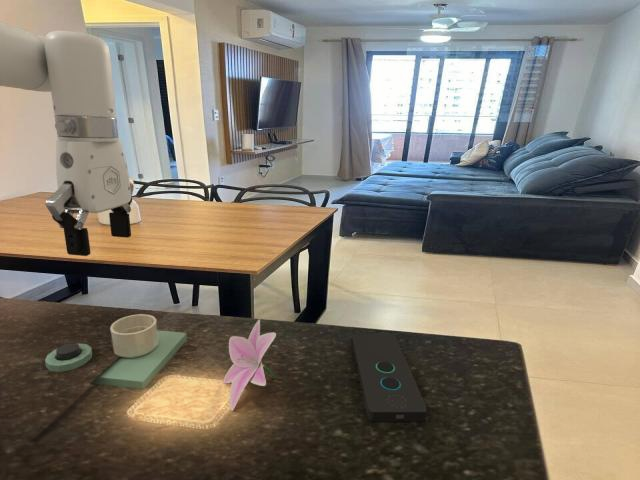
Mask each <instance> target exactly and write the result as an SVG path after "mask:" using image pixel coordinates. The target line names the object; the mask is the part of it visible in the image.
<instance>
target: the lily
mask: <svg viewBox="0 0 640 480" xmlns="http://www.w3.org/2000/svg"><path fill="white" fill-rule="evenodd" d="M276 337H277V333H276V332H274V331H273V332H267V333H263V334H261V319H260V318H259V319H258V320H257V321H256V322H255V324H254V325H253V327H252V329H251V331H250V333H249V336H248V338H247V337H243V336H237V335H232V336H231V337H229V339H228V351H229V353H228V354H229V356H230V361H231V362H232V363H233V364H232V365H231V366H230V367H229V369H228V370H227V372H226V374H225V376H224V378H223V380H222V382H223V384H230V383H231V385H230V391H229V409H230V412H233V411H234V409H235V408H236V406H237V404H238V402H239V400H240V397H241V395H242V393H243V391H244V390H245V388H246V386H247V385H248V383H249V382H250V383H251V384H253V385H256V386H262V387H265V386H266V385H267V379H266V376H265V370H266V371H267V372H268V374H270V376H271V377H272V378H273V379H274V380H276V379H277V377H276V376H275V374H274V373H273V372H272V371H271V370H270V369H269V368H268V367H267V366H266V365H264V364H263V361H262V359H263V357H264V355H265V354H266V352H267V350H268V349H269V348H270V346H271V345H272V343H273V341H274V340H275V338H276Z"/></svg>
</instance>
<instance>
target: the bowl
mask: <svg viewBox="0 0 640 480" xmlns="http://www.w3.org/2000/svg"><path fill="white" fill-rule="evenodd" d="M109 333H110V340H111V346H112V351H113V353H114V355H116V356H118V357H124V358H135V357H140V356H143V355H145V354H148V353H149V352H151V351H152V350H153V349H154V348H155V347H156V346H157V345H158V342H159V339H158V321H157V318H156V317H155V316H153V315H151V314H146V313H139V314H131V315H127V316H124V317H121V318H119V319H117V320H115V321H114V322H112V323H111V325H110V327H109Z"/></svg>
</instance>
